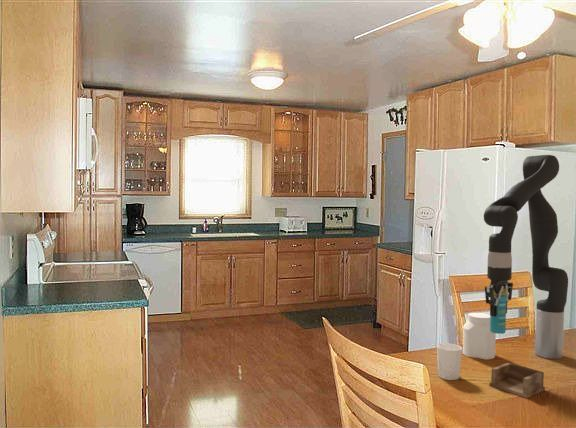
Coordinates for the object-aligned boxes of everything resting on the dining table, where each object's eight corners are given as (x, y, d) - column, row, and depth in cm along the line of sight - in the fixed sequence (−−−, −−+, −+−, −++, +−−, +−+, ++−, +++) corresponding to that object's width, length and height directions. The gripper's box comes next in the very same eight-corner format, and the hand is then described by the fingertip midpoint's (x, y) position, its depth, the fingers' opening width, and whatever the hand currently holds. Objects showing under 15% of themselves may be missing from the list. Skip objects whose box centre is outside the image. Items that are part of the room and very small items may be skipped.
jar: (496, 353, 194) (497, 314, 193) (493, 360, 185) (495, 320, 185) (464, 348, 199) (465, 310, 199) (460, 355, 191) (461, 316, 190)
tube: (497, 335, 169) (498, 277, 168) (484, 332, 173) (485, 275, 172) (510, 332, 174) (512, 275, 172) (498, 328, 178) (499, 273, 177)
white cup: (448, 382, 164) (449, 351, 163) (431, 374, 171) (431, 345, 170) (466, 378, 167) (467, 348, 167) (448, 371, 174) (449, 342, 174)
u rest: (507, 378, 168) (508, 361, 168) (544, 389, 159) (545, 372, 158) (489, 385, 161) (489, 368, 161) (526, 398, 152) (527, 380, 152)
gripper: (500, 261, 179) (499, 309, 180) (477, 265, 171) (476, 315, 172) (521, 264, 174) (520, 313, 174) (498, 268, 165) (497, 320, 166)
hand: (498, 314), depth 173 cm, fingers closed on tube, 5 cm apart
